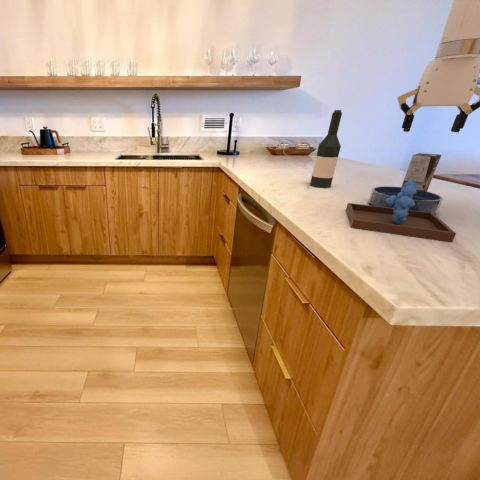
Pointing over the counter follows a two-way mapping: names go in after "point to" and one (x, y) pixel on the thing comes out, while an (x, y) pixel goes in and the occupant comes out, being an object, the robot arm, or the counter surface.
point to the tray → (413, 226)
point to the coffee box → (422, 170)
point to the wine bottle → (327, 155)
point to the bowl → (421, 198)
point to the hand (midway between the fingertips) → (429, 131)
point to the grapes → (402, 202)
